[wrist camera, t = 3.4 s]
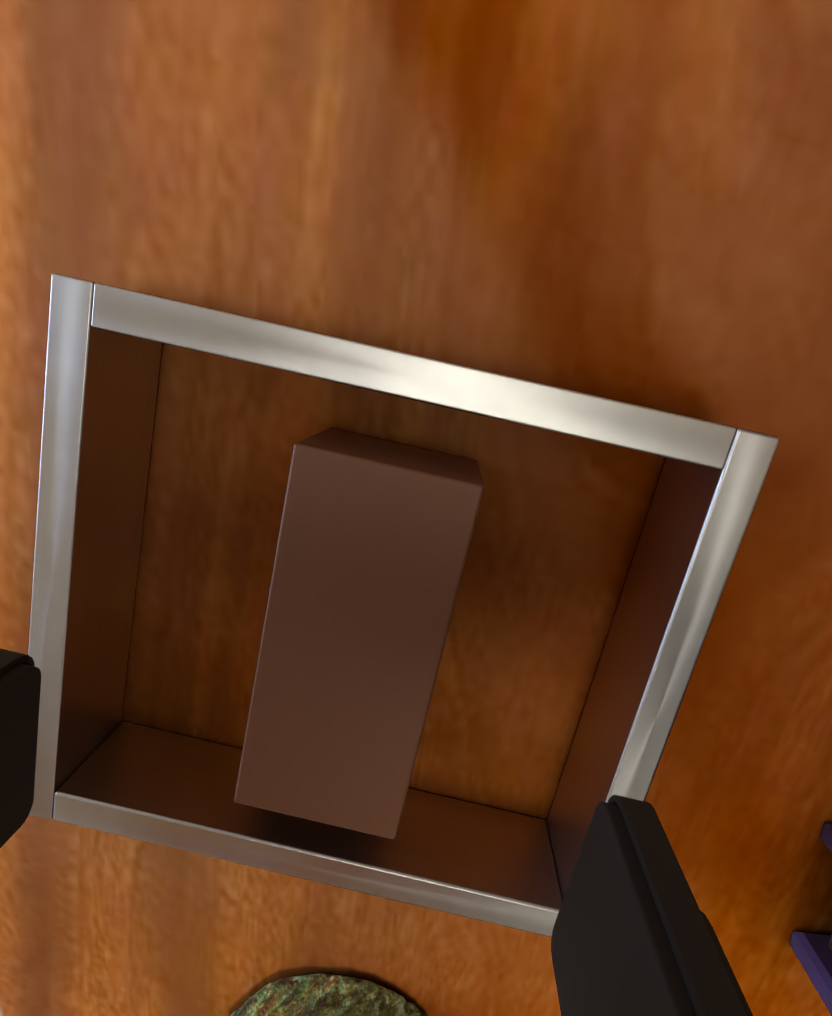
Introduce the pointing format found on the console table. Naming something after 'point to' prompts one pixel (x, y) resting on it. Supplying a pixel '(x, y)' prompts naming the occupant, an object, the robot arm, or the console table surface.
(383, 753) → the brown rectangular block
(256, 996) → the seashell
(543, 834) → the rectangular frame
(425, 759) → the console table surface
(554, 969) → the robot arm
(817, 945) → the book
